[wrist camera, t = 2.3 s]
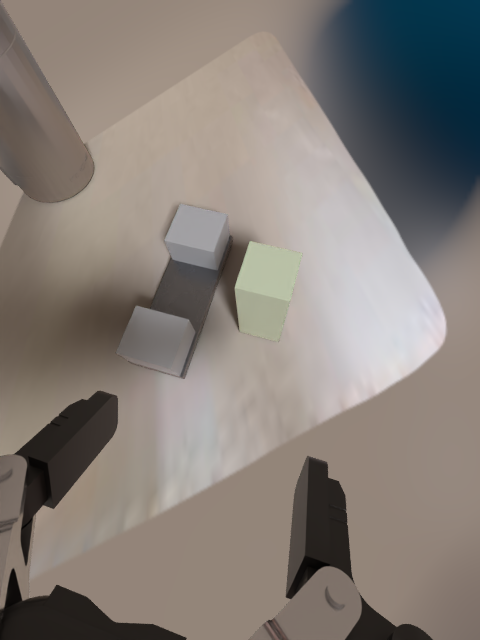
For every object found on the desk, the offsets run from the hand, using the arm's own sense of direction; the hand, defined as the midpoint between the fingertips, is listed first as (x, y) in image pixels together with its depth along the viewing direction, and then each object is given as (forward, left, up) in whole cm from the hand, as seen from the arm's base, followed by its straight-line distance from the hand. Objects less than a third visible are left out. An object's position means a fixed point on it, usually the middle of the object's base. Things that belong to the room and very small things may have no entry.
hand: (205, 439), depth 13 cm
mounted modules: (-9, +12, -17) cm, 22 cm away
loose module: (0, +12, -17) cm, 20 cm away
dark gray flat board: (-9, +12, -17) cm, 22 cm away
